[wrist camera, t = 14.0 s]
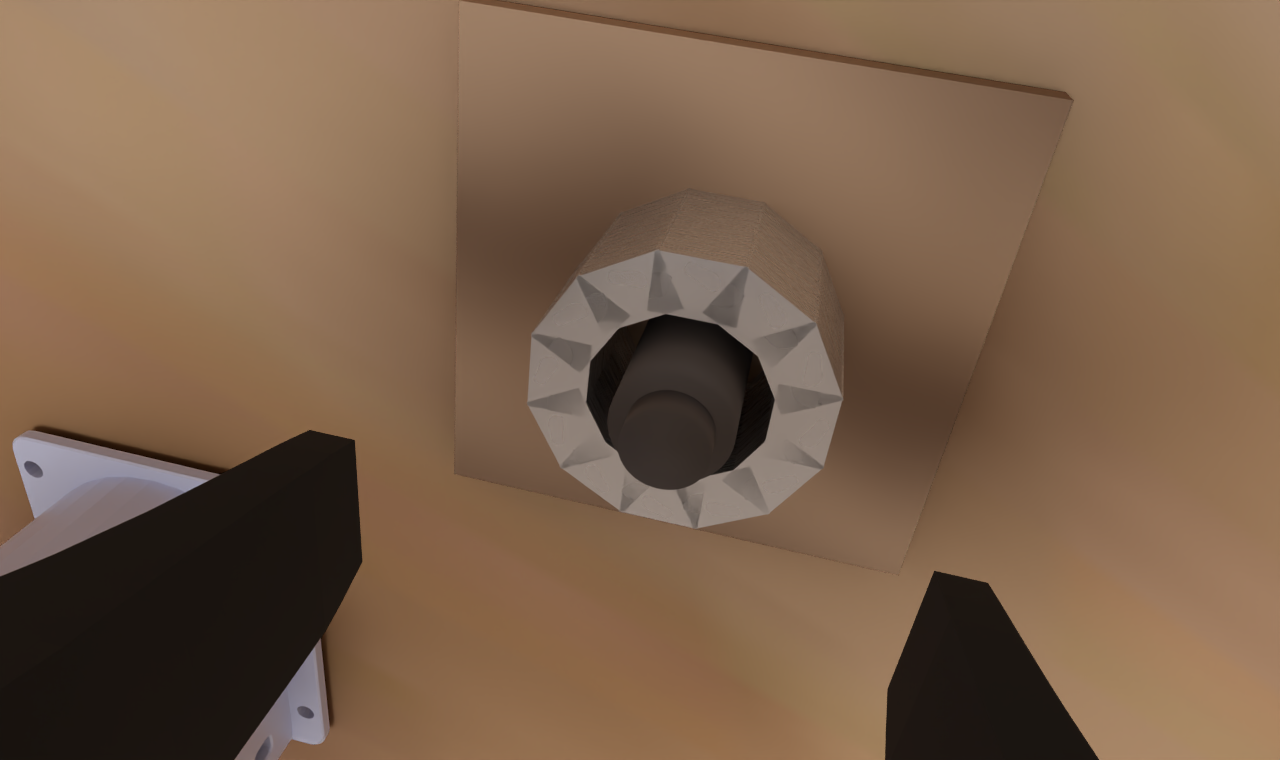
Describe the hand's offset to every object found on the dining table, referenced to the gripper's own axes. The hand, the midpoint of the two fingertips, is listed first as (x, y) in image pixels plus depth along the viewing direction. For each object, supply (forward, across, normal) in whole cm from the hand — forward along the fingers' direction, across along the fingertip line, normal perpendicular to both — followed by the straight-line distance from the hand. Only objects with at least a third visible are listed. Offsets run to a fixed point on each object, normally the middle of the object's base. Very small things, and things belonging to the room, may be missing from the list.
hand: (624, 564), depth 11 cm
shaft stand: (+8, 0, 0) cm, 8 cm away
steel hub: (+7, 0, 0) cm, 7 cm away
